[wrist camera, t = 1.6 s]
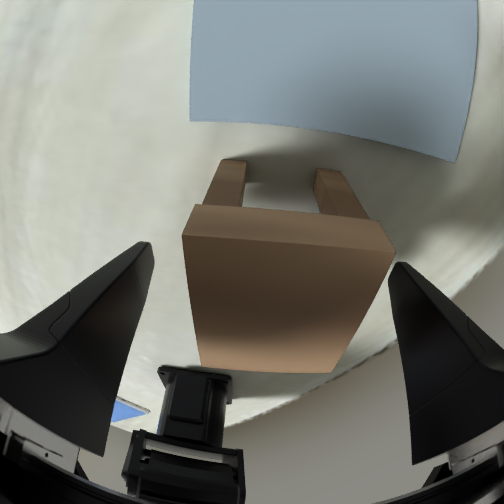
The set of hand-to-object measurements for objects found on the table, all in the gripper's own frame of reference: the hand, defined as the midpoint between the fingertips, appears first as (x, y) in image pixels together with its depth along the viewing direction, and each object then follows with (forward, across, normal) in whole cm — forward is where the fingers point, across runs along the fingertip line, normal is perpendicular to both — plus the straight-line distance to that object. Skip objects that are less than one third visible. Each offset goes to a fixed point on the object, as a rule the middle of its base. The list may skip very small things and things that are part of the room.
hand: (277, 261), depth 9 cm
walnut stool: (+3, 0, 0) cm, 3 cm away
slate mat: (+3, -2, -10) cm, 10 cm away
